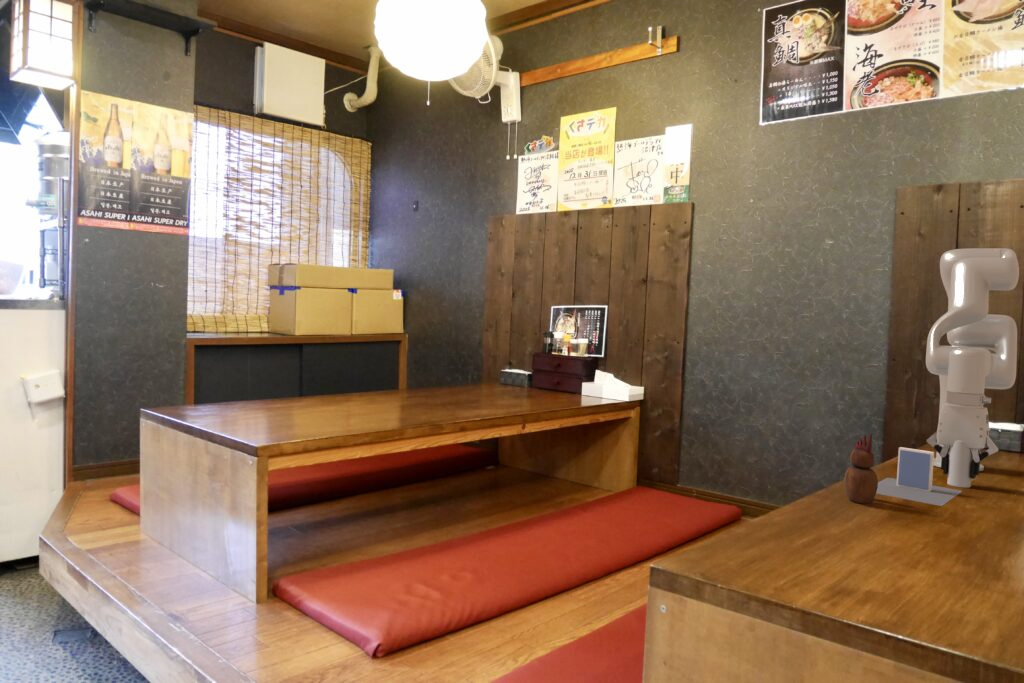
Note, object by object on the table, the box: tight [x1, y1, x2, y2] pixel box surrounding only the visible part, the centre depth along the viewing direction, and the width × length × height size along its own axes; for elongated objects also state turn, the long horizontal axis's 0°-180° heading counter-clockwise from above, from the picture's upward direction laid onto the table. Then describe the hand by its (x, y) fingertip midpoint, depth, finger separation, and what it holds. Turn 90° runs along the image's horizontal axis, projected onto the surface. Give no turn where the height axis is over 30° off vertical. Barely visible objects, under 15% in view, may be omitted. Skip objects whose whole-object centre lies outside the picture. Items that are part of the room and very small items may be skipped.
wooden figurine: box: [843, 433, 879, 504], centre depth 152 cm, size 7×6×15 cm
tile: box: [896, 446, 935, 492], centre depth 164 cm, size 2×7×9 cm, turn 46°
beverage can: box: [946, 440, 973, 489], centre depth 169 cm, size 5×5×12 cm
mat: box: [876, 477, 963, 507], centre depth 162 cm, size 20×16×1 cm
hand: (959, 474), depth 169 cm, fingers closed on beverage can, 4 cm apart
